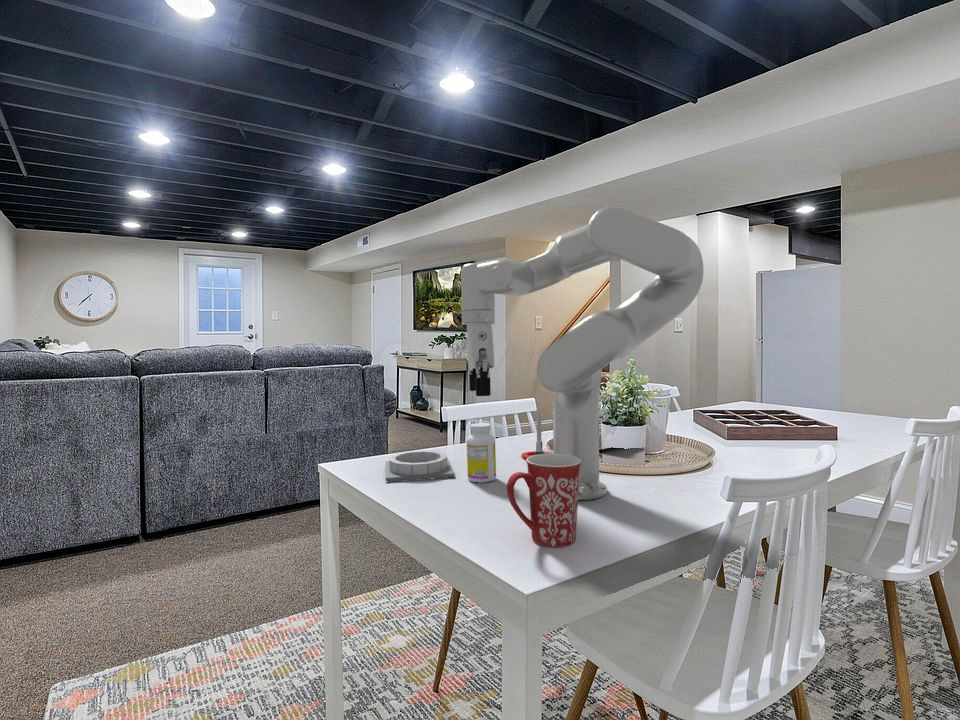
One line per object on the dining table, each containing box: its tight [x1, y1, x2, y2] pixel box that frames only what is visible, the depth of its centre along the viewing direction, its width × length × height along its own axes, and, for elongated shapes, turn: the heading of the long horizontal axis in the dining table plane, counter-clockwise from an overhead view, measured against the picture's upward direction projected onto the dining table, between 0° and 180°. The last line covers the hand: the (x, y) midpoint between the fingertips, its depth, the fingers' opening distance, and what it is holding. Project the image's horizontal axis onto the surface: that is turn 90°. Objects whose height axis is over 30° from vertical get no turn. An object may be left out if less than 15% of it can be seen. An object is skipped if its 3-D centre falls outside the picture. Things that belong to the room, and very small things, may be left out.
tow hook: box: [520, 411, 553, 460], centre depth 149 cm, size 8×13×9 cm
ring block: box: [384, 450, 456, 482], centre depth 138 cm, size 16×16×4 cm
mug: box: [506, 453, 581, 548], centre depth 92 cm, size 13×9×14 cm
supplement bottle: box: [466, 422, 497, 484], centre depth 129 cm, size 7×7×13 cm
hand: (479, 393), depth 128 cm, fingers open, 9 cm apart
